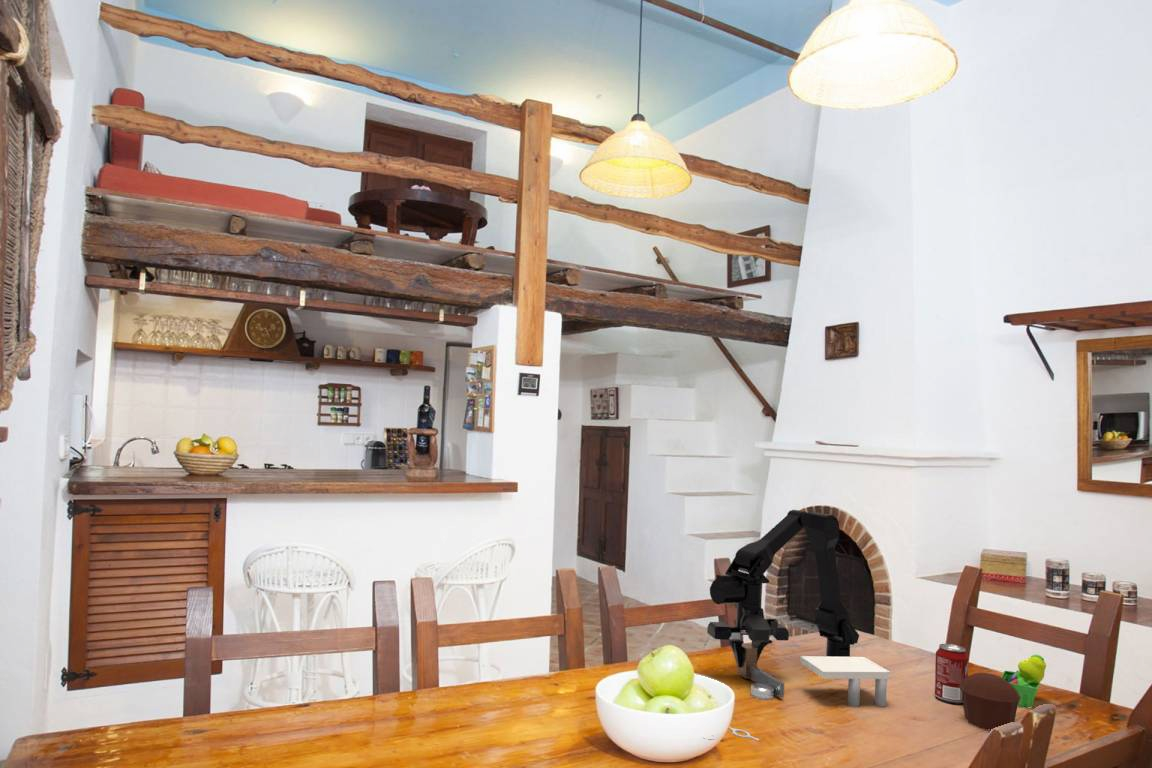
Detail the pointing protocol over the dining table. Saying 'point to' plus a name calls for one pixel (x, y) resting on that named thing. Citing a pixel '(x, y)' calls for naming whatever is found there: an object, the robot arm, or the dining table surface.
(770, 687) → the token
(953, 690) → the soda can
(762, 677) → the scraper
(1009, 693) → the muffin
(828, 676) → the low stand
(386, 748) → the dining table surface
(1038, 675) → the green toy figure
